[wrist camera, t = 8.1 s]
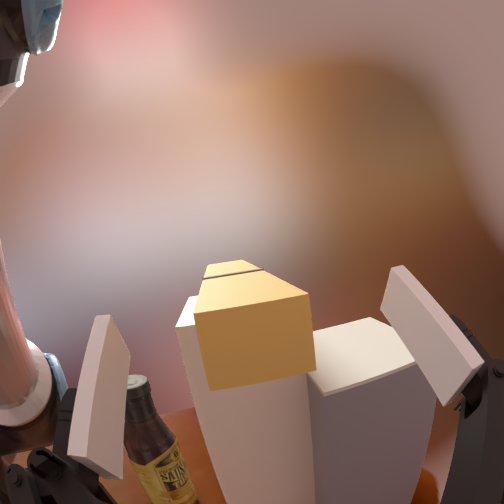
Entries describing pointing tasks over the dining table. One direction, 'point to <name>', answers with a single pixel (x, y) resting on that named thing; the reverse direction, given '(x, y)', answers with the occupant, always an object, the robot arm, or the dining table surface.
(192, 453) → the dining table surface
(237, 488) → the cream pillar
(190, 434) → the dining table surface
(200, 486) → the dining table surface
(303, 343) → the yellow long bar
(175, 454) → the sauce bottle
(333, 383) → the grey upright block
